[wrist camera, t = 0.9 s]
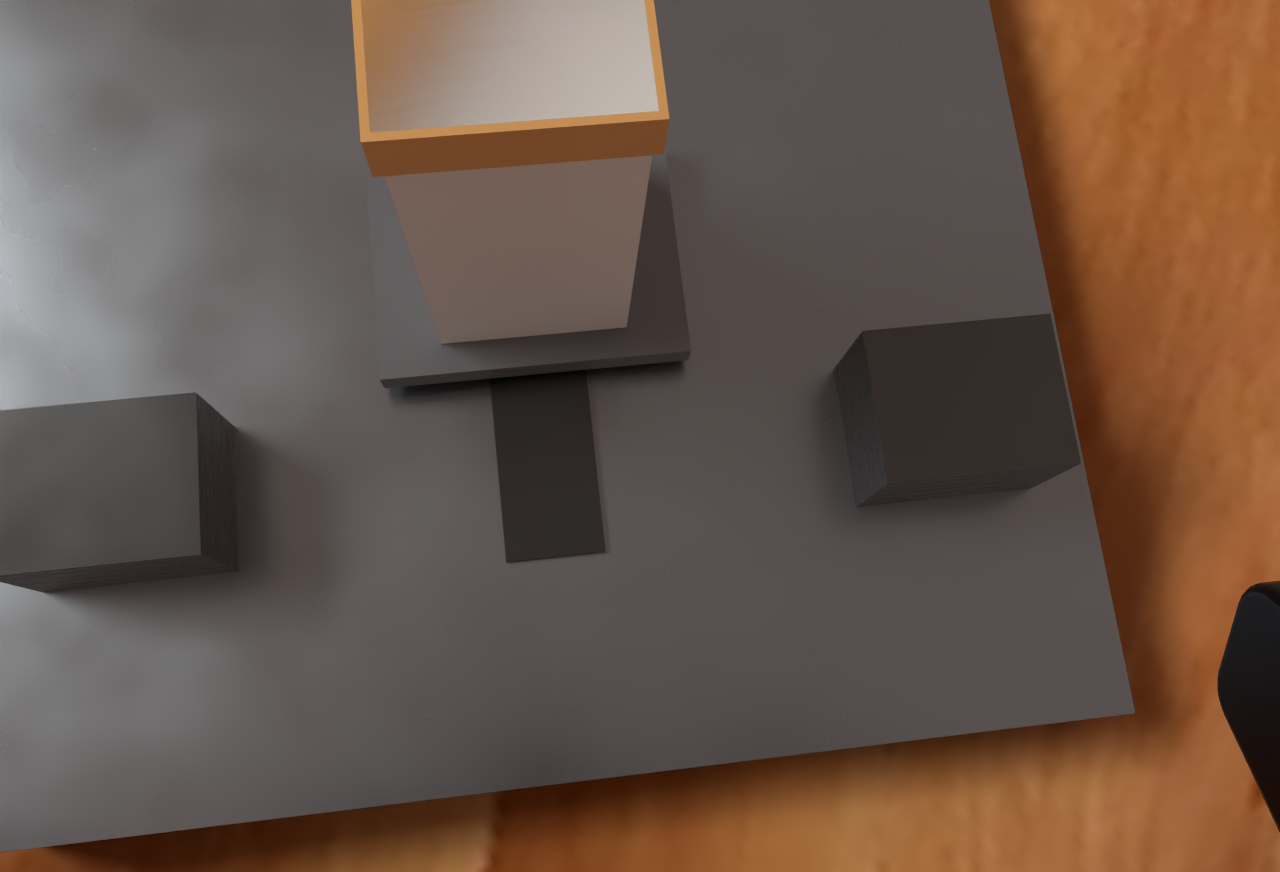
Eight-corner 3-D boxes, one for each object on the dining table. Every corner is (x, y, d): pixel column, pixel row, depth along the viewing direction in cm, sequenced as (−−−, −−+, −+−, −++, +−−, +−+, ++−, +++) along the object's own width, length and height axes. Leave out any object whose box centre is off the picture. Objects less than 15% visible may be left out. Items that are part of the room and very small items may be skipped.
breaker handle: (688, 359, 20) (759, 146, 12) (385, 388, 19) (273, 184, 12) (660, 141, 21) (710, -178, 13) (368, 163, 20) (257, -153, 13)
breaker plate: (1082, 714, 21) (1199, 712, 17) (31, 842, 19) (-102, 871, 16) (937, -29, 24) (1007, -171, 20) (34, 31, 23) (-76, -110, 19)
